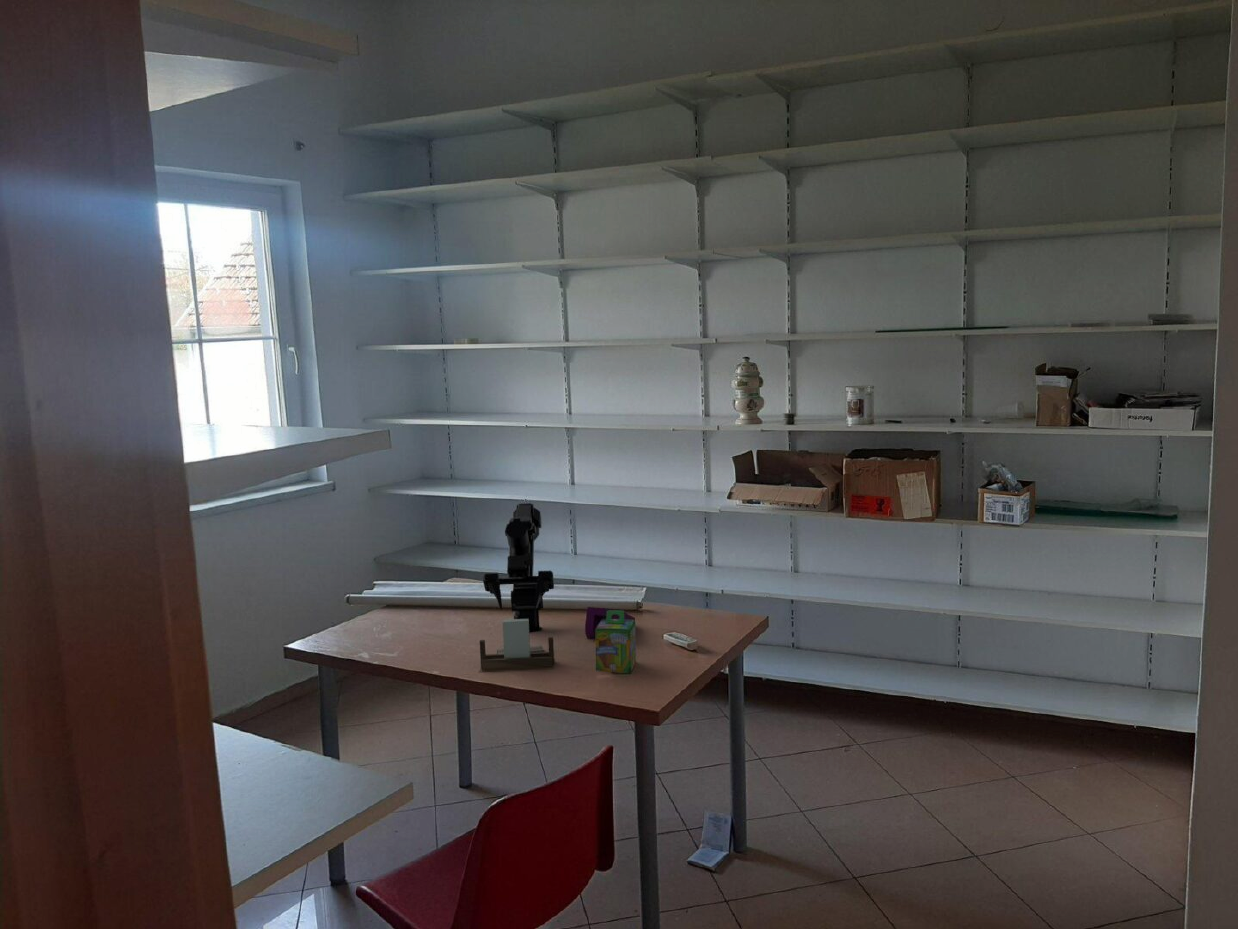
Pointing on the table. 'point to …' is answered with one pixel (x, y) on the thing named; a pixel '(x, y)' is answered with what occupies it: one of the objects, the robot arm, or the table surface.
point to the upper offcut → (532, 649)
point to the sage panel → (516, 638)
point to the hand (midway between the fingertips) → (518, 608)
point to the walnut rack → (517, 660)
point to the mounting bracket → (598, 619)
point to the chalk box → (615, 643)
